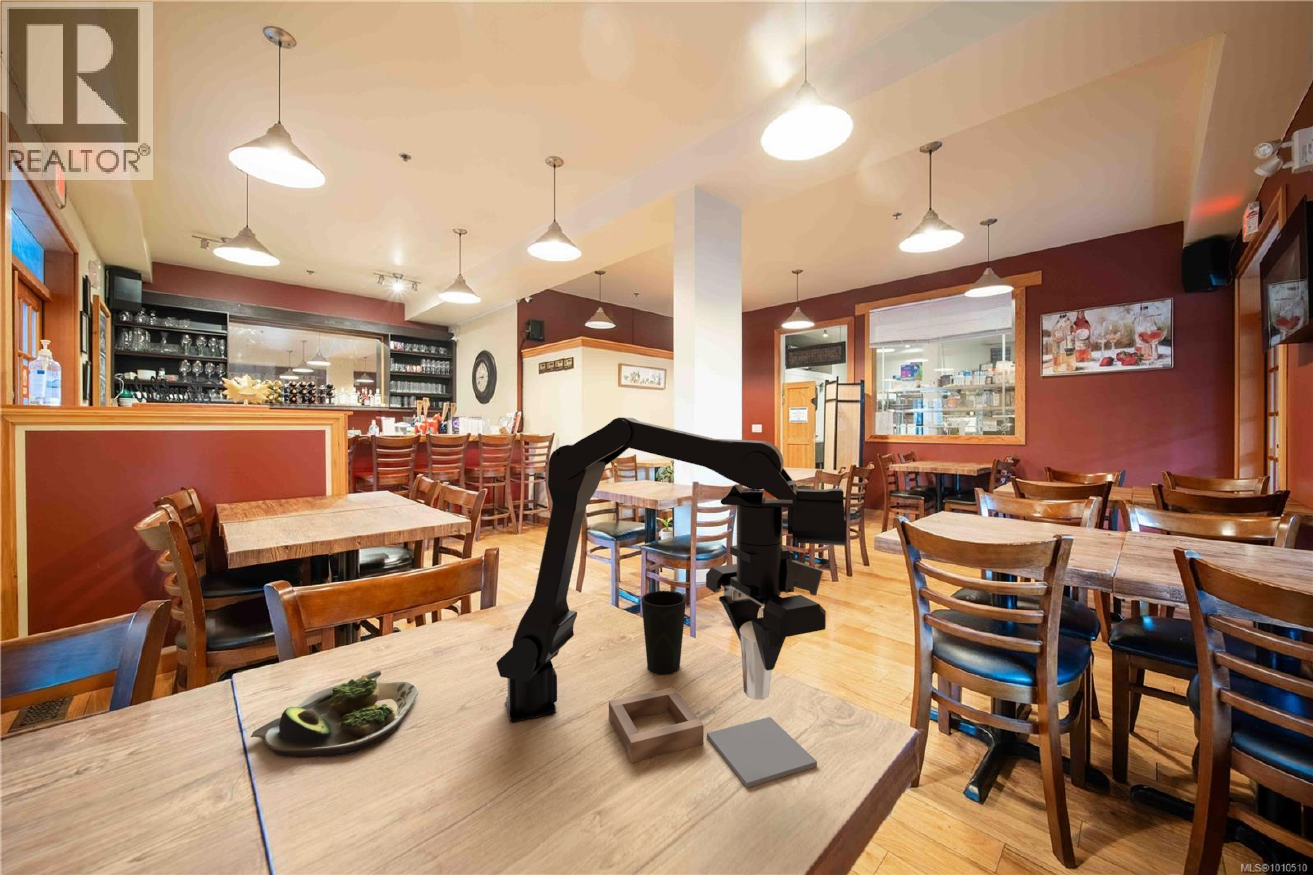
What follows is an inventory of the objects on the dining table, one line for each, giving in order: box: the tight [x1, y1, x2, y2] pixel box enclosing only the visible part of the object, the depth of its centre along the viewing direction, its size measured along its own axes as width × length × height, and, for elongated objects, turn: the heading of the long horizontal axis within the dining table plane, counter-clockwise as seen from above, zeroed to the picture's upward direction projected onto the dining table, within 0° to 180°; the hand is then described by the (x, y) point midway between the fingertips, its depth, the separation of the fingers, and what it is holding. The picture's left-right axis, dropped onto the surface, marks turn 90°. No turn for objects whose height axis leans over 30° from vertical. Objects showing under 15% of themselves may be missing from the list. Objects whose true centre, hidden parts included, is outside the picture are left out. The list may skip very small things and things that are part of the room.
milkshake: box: [739, 607, 773, 701], centre depth 64 cm, size 4×5×10 cm
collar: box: [608, 687, 705, 763], centre depth 69 cm, size 10×10×2 cm
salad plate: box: [250, 670, 419, 759], centre depth 73 cm, size 19×18×5 cm
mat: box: [706, 716, 818, 789], centre depth 65 cm, size 10×10×1 cm
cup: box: [641, 590, 687, 676], centre depth 86 cm, size 8×8×12 cm
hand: (759, 661), depth 64 cm, fingers closed on milkshake, 4 cm apart
